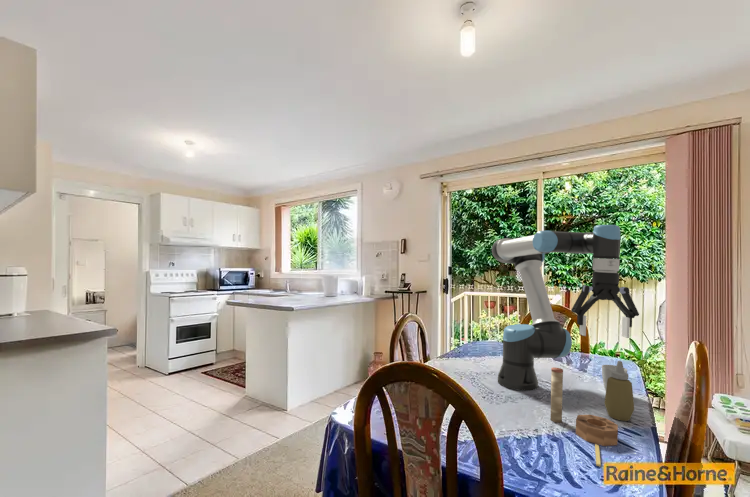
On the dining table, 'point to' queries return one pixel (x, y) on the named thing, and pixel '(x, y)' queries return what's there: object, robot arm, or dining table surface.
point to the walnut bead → (597, 430)
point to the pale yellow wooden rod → (597, 455)
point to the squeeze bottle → (619, 395)
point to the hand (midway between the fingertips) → (603, 336)
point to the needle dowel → (556, 394)
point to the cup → (608, 373)
